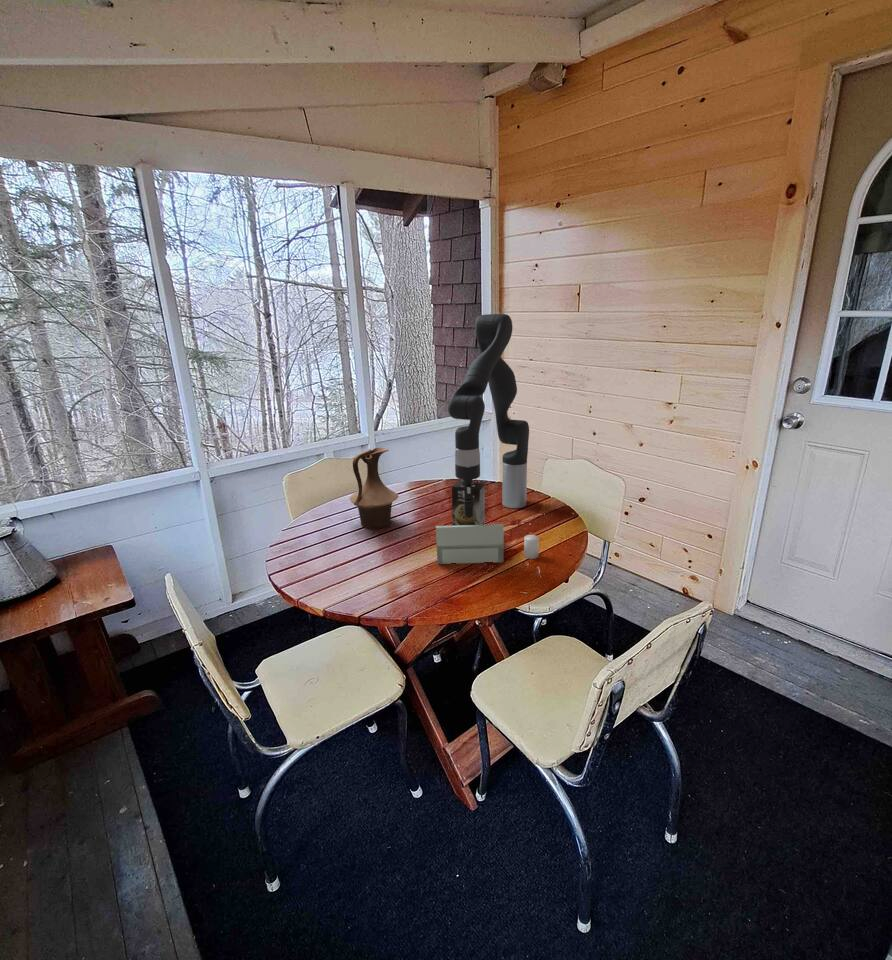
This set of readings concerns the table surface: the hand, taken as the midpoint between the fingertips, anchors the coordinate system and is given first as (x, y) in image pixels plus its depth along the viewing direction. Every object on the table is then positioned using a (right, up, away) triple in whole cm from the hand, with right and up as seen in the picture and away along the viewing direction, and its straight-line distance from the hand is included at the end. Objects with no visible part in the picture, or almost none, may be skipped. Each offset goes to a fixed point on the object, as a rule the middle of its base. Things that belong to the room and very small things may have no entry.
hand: (468, 511), depth 160 cm
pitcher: (-32, -6, +26) cm, 42 cm away
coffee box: (0, -7, +2) cm, 7 cm away
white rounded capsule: (+19, -14, -1) cm, 24 cm away
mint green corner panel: (0, -13, +2) cm, 13 cm away
